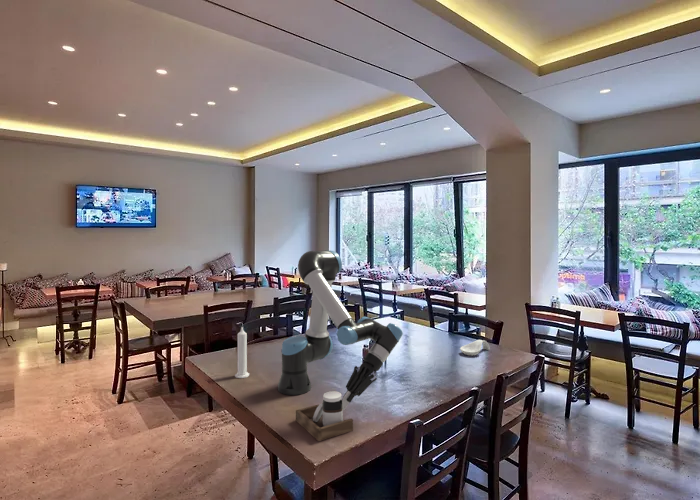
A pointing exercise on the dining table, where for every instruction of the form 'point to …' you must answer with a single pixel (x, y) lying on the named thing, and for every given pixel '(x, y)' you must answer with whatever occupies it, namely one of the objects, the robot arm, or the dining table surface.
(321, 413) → the spread jar
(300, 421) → the walnut bay
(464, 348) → the spoon rest
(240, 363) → the candle
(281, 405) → the dining table surface
